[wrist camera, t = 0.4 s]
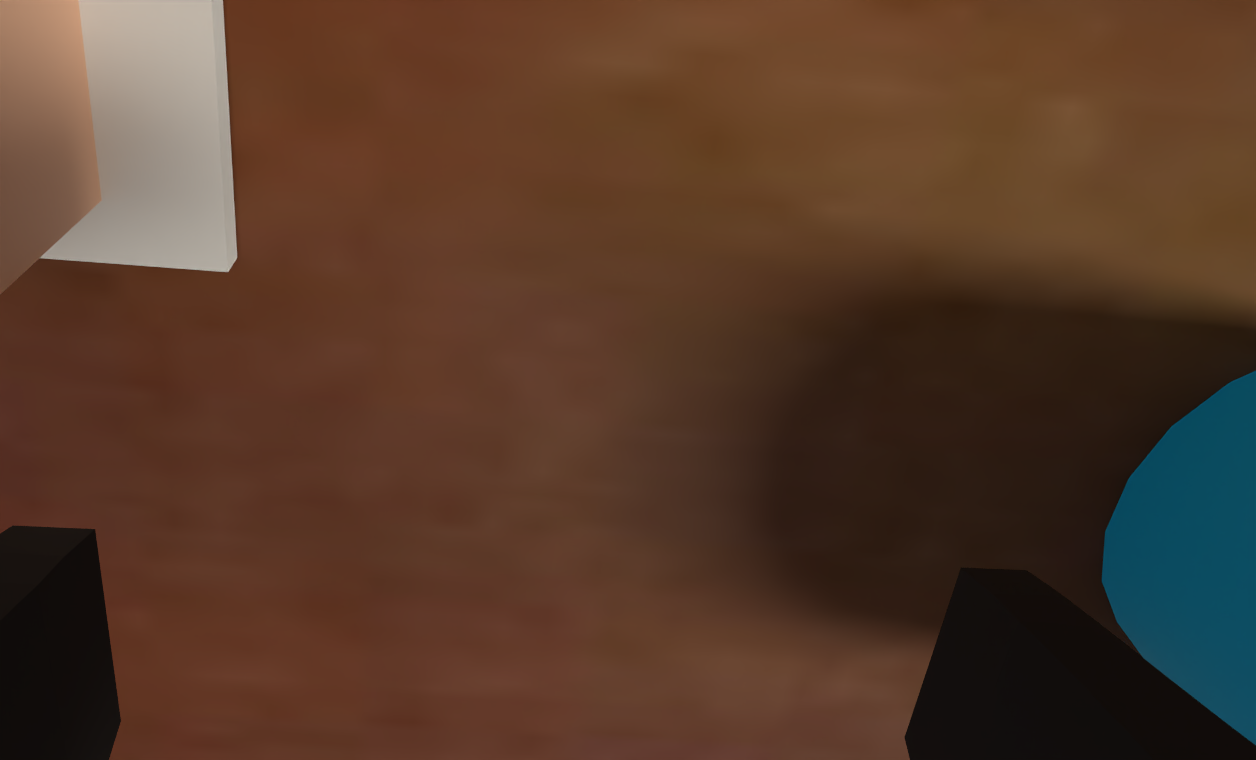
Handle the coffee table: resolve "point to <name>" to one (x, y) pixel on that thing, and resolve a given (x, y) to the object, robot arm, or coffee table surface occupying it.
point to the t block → (42, 131)
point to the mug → (1194, 555)
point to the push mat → (157, 137)
